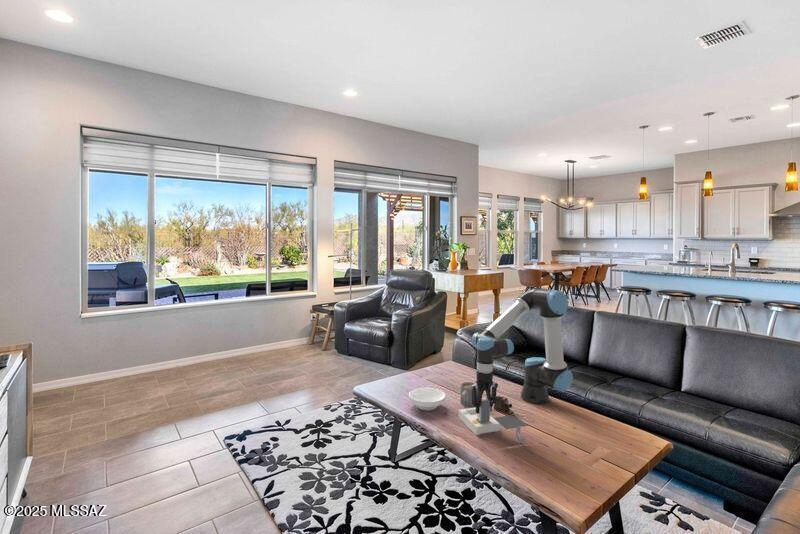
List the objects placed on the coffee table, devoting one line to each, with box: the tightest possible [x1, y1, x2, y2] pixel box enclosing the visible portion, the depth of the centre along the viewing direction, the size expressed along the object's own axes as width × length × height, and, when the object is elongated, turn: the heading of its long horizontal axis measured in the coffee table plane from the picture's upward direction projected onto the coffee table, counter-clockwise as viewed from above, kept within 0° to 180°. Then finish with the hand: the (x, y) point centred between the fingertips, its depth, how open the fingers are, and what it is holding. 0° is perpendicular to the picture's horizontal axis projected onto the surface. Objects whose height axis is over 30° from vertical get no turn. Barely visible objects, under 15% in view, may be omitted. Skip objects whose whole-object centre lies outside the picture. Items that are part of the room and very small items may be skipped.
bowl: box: [408, 387, 446, 411], centre depth 211 cm, size 20×20×7 cm
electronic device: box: [493, 395, 514, 415], centre depth 207 cm, size 4×10×8 cm, turn 44°
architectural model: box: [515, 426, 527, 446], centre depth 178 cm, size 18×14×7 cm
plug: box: [480, 396, 491, 423], centre depth 187 cm, size 4×4×11 cm
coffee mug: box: [459, 381, 478, 408], centre depth 216 cm, size 13×10×10 cm
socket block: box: [457, 407, 501, 436], centre depth 193 cm, size 12×19×4 cm, turn 17°
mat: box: [493, 414, 528, 430], centre depth 195 cm, size 12×12×1 cm
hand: (483, 418), depth 188 cm, fingers closed on plug, 4 cm apart
